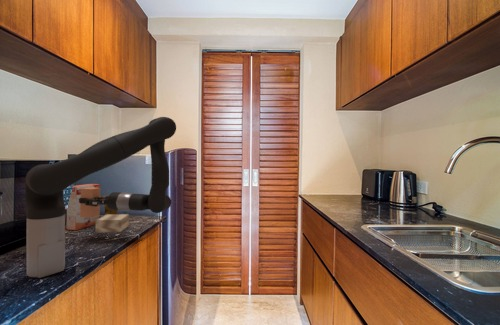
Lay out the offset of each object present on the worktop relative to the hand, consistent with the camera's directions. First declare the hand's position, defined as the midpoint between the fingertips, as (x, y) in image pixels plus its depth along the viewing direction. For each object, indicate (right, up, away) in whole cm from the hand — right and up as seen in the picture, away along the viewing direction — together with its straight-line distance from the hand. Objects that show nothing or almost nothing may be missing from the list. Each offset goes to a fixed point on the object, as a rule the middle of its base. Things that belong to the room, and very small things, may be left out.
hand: (84, 199), depth 104 cm
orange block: (+2, -7, 0) cm, 8 cm away
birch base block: (+3, -17, +15) cm, 23 cm away
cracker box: (-13, -16, +18) cm, 27 cm away
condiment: (-6, -16, +31) cm, 36 cm away
